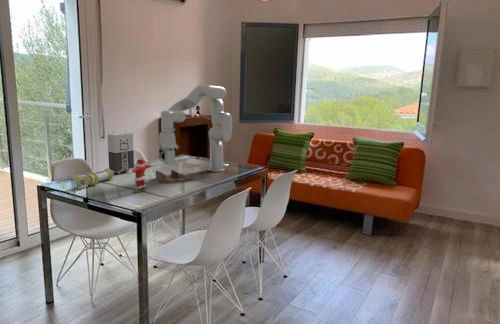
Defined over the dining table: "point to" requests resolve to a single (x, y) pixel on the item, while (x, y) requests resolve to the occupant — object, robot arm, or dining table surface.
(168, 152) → the pale green block
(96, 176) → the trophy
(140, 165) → the santa figurine
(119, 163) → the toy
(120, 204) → the dining table surface
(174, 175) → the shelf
